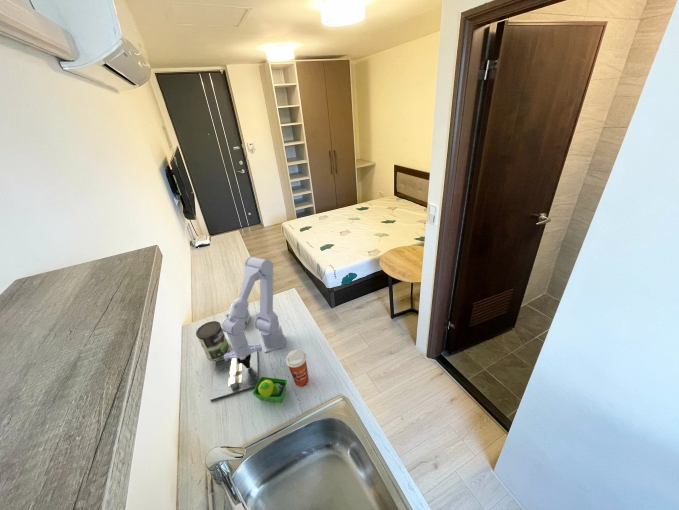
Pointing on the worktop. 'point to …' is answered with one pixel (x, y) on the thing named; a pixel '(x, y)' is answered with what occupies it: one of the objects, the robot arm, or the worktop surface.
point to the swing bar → (234, 373)
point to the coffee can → (213, 340)
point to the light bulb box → (244, 317)
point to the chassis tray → (244, 382)
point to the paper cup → (298, 367)
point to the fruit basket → (270, 389)
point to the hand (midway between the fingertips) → (248, 366)
